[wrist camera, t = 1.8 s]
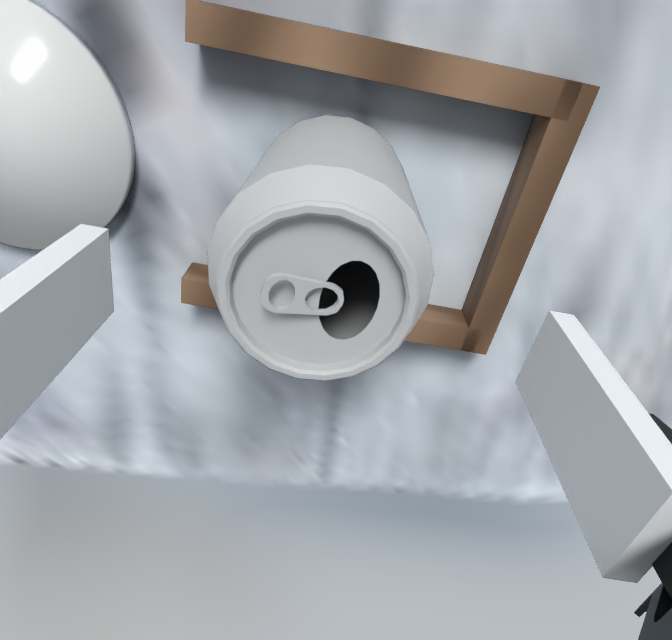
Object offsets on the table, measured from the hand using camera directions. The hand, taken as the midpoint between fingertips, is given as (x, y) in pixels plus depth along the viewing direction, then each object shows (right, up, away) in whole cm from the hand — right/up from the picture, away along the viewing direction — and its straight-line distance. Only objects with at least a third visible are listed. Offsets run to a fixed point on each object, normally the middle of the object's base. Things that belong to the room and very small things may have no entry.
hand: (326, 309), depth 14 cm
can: (0, +7, +10) cm, 12 cm away
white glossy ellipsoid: (-16, +9, +9) cm, 20 cm away
